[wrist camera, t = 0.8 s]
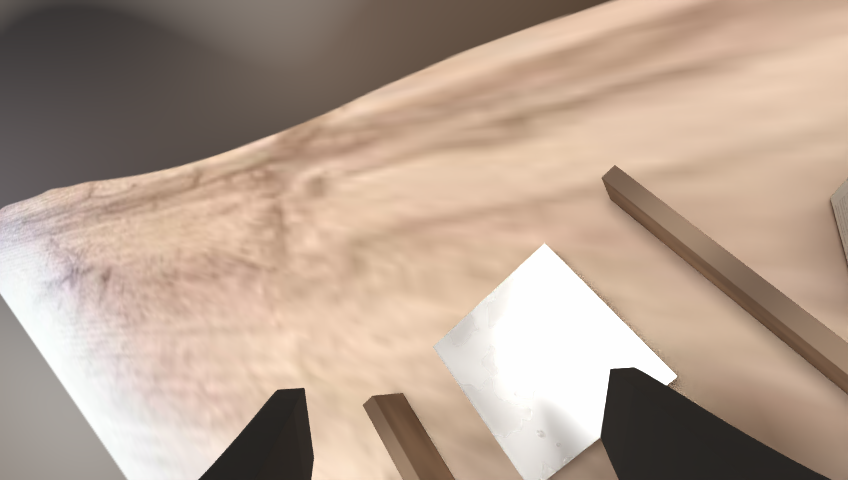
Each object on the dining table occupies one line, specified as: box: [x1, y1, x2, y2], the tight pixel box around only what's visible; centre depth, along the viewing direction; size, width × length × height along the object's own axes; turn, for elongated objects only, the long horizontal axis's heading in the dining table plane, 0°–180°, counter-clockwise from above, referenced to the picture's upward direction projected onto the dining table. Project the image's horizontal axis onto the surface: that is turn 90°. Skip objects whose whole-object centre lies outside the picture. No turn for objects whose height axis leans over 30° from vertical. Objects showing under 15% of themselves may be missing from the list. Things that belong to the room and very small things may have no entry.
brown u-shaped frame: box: [363, 166, 848, 480], centre depth 19 cm, size 15×18×3 cm
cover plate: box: [433, 243, 677, 480], centre depth 22 cm, size 8×8×2 cm
